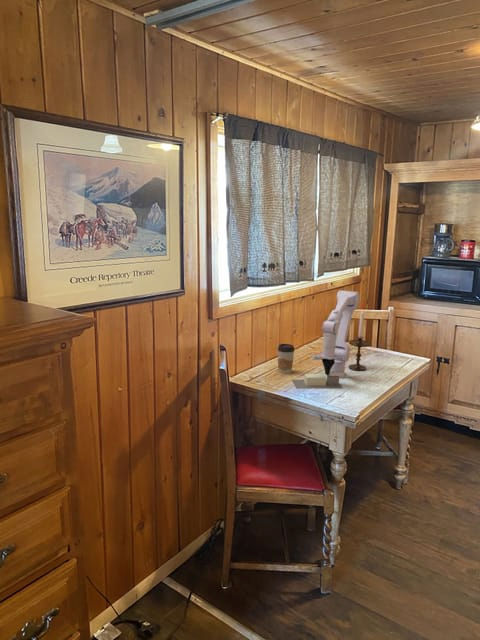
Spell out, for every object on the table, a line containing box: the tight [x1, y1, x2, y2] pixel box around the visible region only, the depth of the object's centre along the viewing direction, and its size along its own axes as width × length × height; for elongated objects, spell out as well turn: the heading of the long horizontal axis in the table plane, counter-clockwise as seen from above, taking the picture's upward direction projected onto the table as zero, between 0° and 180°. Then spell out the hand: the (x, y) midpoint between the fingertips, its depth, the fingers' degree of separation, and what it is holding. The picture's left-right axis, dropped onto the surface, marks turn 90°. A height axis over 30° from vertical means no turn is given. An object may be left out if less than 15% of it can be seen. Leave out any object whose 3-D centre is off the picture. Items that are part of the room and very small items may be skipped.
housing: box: [291, 375, 344, 390], centre depth 228 cm, size 12×22×6 cm, turn 95°
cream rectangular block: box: [303, 373, 327, 386], centre depth 228 cm, size 5×9×4 cm, turn 95°
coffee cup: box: [277, 343, 295, 375], centre depth 244 cm, size 8×8×15 cm
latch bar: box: [329, 371, 345, 377], centre depth 228 cm, size 2×7×2 cm, turn 95°
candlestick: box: [348, 304, 371, 372], centre depth 255 cm, size 11×11×35 cm
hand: (326, 374), depth 228 cm, fingers closed
